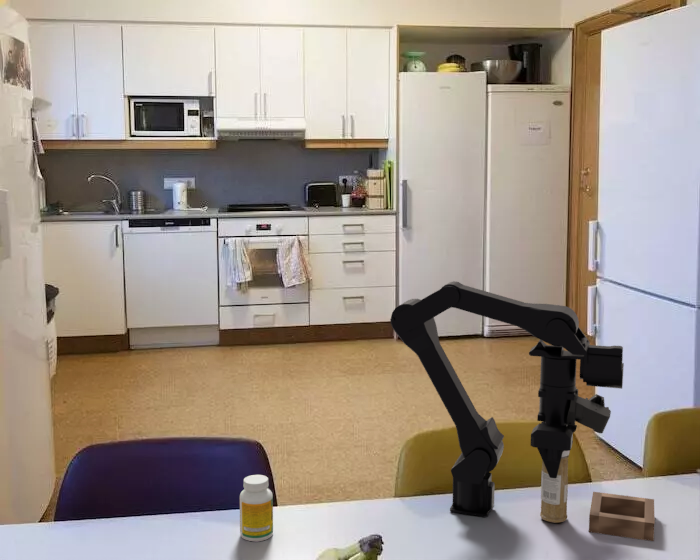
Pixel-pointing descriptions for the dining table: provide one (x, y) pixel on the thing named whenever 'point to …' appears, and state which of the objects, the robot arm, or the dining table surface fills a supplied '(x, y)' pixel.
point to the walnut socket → (622, 516)
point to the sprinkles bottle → (555, 492)
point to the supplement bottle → (256, 509)
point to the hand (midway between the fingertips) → (554, 472)
